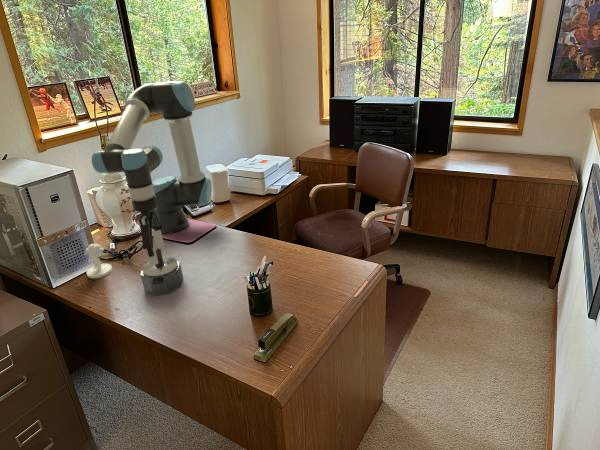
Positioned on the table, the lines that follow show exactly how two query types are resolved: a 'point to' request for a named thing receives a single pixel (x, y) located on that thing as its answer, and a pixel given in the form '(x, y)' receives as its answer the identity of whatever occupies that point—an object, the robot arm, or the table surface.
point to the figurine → (97, 262)
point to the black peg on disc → (160, 266)
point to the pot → (163, 282)
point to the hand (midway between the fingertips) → (157, 255)
